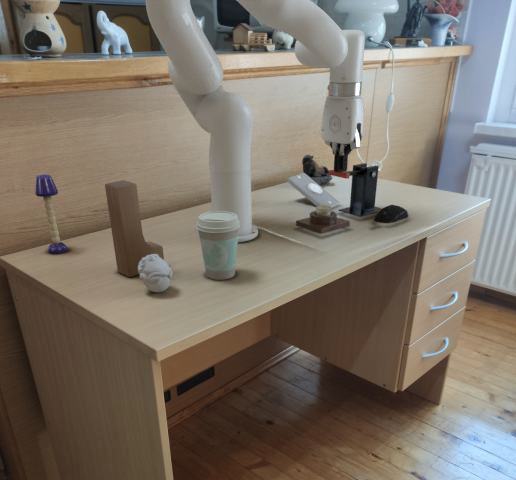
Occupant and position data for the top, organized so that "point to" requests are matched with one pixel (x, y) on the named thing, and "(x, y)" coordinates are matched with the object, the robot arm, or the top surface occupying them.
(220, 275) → the coffee cup
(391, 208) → the gaming mouse
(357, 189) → the bracket
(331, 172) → the lever
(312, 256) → the top surface
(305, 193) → the light switch
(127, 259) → the wooden block
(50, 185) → the toy lamp
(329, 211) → the button
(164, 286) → the frog figurine
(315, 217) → the button block
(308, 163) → the bison figurine
